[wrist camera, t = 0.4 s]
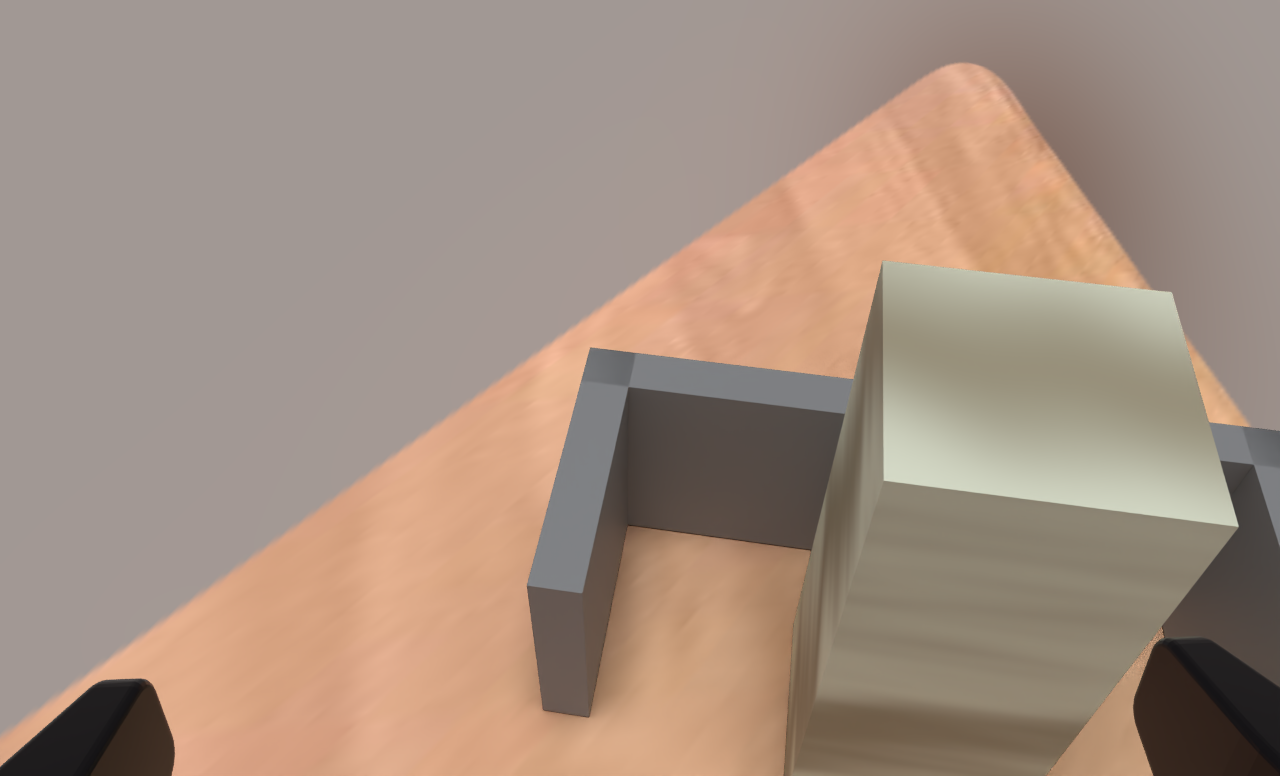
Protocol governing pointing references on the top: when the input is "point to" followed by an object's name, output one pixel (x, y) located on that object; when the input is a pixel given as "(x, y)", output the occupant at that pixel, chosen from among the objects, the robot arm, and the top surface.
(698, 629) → the top surface
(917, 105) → the top surface
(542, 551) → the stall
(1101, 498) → the sage block
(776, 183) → the top surface
